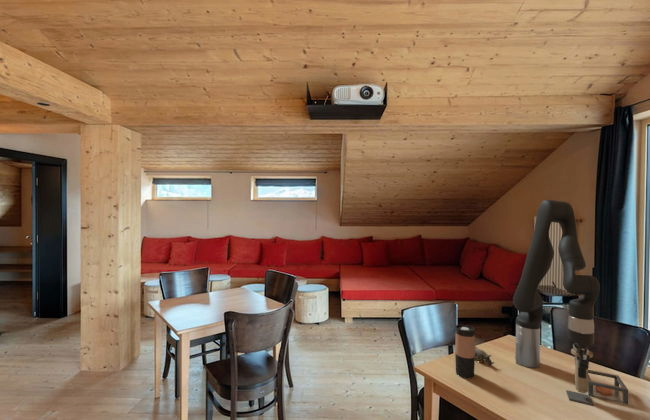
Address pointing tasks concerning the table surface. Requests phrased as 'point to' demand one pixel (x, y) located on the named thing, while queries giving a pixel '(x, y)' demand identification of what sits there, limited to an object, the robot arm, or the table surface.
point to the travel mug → (465, 351)
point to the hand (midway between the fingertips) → (580, 374)
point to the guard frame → (616, 395)
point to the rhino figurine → (482, 356)
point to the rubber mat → (579, 397)
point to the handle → (580, 382)
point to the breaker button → (604, 390)
